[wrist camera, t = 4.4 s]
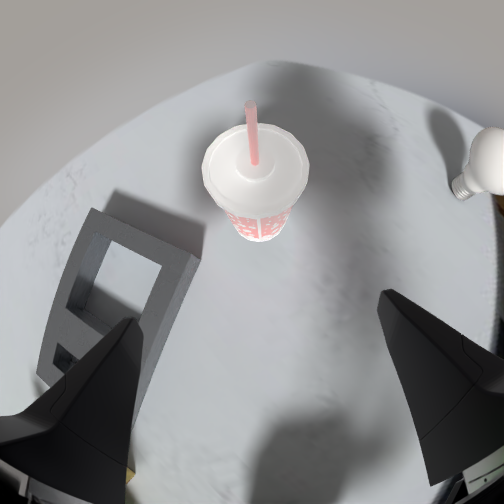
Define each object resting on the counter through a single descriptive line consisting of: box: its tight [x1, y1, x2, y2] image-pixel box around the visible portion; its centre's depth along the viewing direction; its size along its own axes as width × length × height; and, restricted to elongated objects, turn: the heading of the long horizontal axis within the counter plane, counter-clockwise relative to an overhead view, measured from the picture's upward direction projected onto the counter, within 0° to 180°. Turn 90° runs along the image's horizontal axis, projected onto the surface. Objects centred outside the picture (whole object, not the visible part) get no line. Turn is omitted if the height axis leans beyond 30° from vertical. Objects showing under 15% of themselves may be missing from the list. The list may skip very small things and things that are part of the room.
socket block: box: [36, 207, 201, 430], centre depth 21 cm, size 18×11×3 cm, turn 157°
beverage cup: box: [201, 100, 310, 242], centre depth 17 cm, size 6×6×14 cm
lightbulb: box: [452, 127, 504, 201], centre depth 18 cm, size 6×6×11 cm
